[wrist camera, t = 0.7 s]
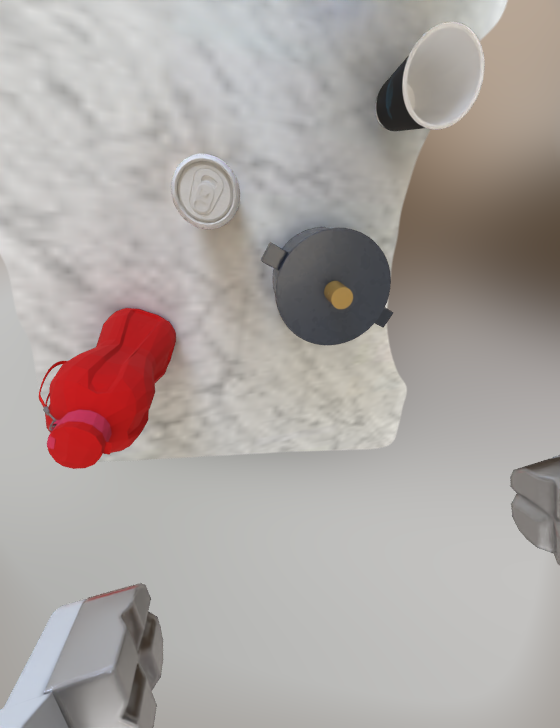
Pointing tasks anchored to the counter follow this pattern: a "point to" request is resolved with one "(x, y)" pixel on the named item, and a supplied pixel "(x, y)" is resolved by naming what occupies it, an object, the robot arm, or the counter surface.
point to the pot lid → (332, 286)
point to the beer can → (205, 191)
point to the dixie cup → (433, 81)
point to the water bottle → (107, 388)
